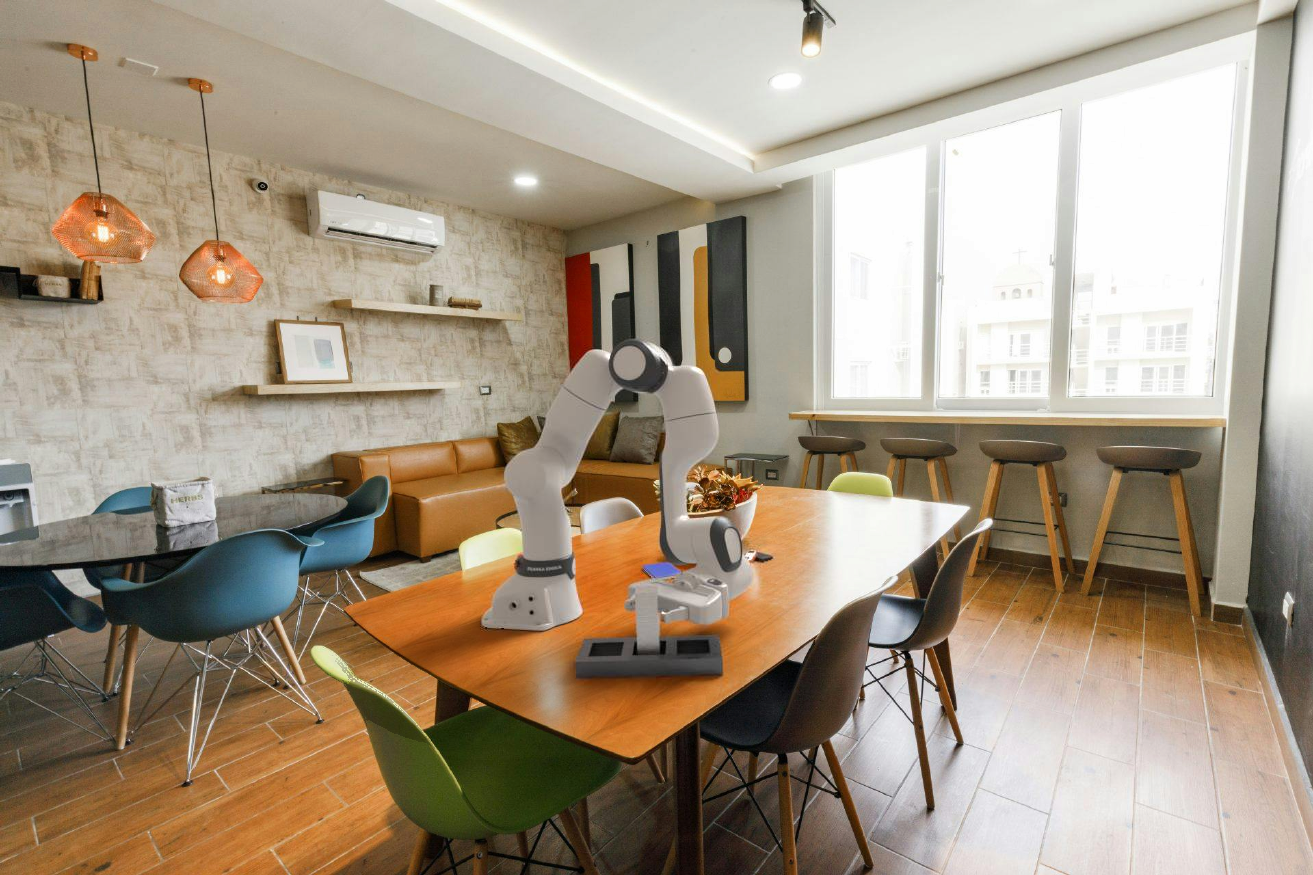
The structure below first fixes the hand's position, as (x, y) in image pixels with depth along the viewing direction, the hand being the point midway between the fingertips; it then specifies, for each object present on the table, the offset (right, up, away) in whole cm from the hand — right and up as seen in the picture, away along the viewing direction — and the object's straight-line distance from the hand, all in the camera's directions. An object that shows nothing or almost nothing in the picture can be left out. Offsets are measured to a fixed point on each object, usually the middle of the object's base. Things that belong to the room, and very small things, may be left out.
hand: (644, 612), depth 107 cm
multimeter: (+28, -5, +62) cm, 68 cm away
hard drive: (+4, -7, +57) cm, 57 cm away
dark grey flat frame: (+1, -10, +1) cm, 10 cm away
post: (+1, -10, +1) cm, 10 cm away
